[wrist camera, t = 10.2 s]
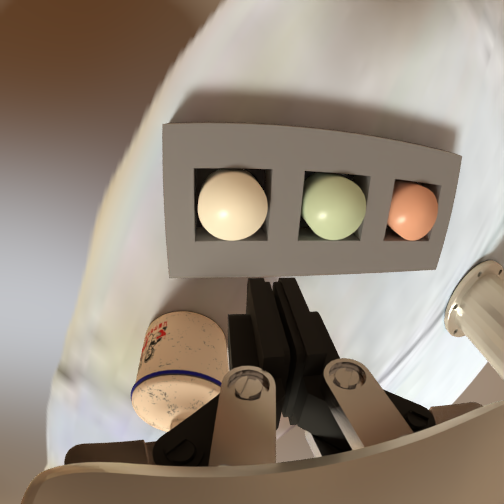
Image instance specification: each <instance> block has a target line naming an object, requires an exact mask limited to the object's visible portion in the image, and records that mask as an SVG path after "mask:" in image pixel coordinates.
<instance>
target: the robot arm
mask: <svg viewBox="0 0 504 504" xmlns="http://www.w3.org/2000/svg"><path fill="white" fill-rule="evenodd" d="M444 324H445V327H446V329H447V331H448V332H449V333H450V334H451V335H452V336H455V337H462V336H465V335H466V336H467V337H468V339H469V340H470V341H471V342H472V343H473V344H474V345H475V347H476V348H477V349H478V350H479V351H480V352H481V354H482V355H483V356H484V357H485V358H486V360H487V361H488V362H489V363H490V364H491V365H492V367H493V368H494V369H495V370H496V372H497V373H498V374H499V375H500V377H501V378H502V379H503V380H504V269H503V267H502V266H501V265H500V264H499V263H497V262H496V261H493V260H489V261H485V262H482V263H481V264H479V265H477V266H476V267H474V268H473V269H472V270H471V271H470V272H469V273H468V274H467V275H466V276H465V277H464V278H463V279H462V281H461V282H460V283H459V285H458V286H457V288H456V289H455V291H454V293H453V294H452V296H451V298H450V300H449V303H448V305H447V308H446V312H445V318H444ZM228 352H229V367H230V371H229V372H228V373H227V374H226V375H225V376H224V377H223V380H222V383H221V389H220V393H219V394H218V395H217V396H216V397H214V398H213V399H212V400H210V401H209V402H208V403H206V404H205V405H204V406H202V407H201V408H200V409H198V410H197V411H196V412H194V413H193V414H192V415H190V416H189V417H188V418H186V419H185V420H184V421H182V422H181V423H179V424H178V425H177V426H175V427H174V428H172V429H171V430H170V431H168V432H167V433H165V434H164V435H163V436H161V437H160V438H159V439H158V440H157V441H155V442H146V443H145V441H144V440H136V441H125V442H111V443H89V444H79V445H75V446H74V447H72V448H71V449H70V450H69V451H68V452H67V454H66V456H65V461H64V465H62V466H57V467H54V468H51V469H48V470H45V471H43V472H41V473H40V474H39V475H37V476H36V477H35V478H34V479H33V480H32V481H31V483H30V484H29V486H28V488H27V489H26V492H25V494H24V496H23V499H22V501H21V504H504V400H503V401H498V402H494V403H491V404H488V405H485V406H482V405H480V404H479V403H476V402H469V403H461V404H454V405H445V406H435V407H431V408H430V409H429V410H428V409H427V408H425V407H423V406H421V405H419V404H416V403H414V402H411V401H409V400H407V399H404V398H402V397H400V396H397V395H395V394H393V393H390V392H388V391H386V390H383V389H382V388H381V386H380V385H379V383H378V382H377V381H376V379H375V378H374V377H373V375H372V374H371V373H370V371H369V370H368V369H367V368H366V367H365V366H364V365H363V364H362V363H360V362H358V361H356V360H353V359H347V358H341V359H340V357H339V355H338V353H337V351H336V349H335V346H334V344H333V342H332V340H331V338H330V336H329V333H328V331H327V329H326V327H325V325H324V323H323V321H322V318H321V316H320V314H319V313H318V312H310V311H309V309H308V306H307V304H306V302H305V300H304V297H303V295H302V293H301V290H300V288H299V286H298V284H297V281H296V279H295V278H279V280H278V282H274V283H273V289H272V288H271V285H270V282H265V281H264V278H248V284H247V306H246V314H232V315H228ZM281 412H282V414H283V417H289V422H290V425H296V424H297V425H298V426H299V427H301V428H302V429H304V430H305V436H306V439H307V441H308V443H309V445H310V448H311V450H312V452H313V454H314V456H315V458H310V459H304V460H296V461H289V462H281V463H276V430H277V429H278V426H279V421H280V417H281Z"/></svg>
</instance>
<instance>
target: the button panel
mask: <svg viewBox="0 0 504 504" xmlns="http://www.w3.org/2000/svg"><path fill="white" fill-rule="evenodd" d="M162 142H163V191H164V213H165V230H166V245H167V258H168V269H169V278H233V277H277V276H310V275H337V274H361V273H382V272H402V271H420V270H436V267H437V264H438V261H439V258H440V254H441V251H442V247H443V244H444V240H445V236H446V233H447V229H448V225H449V221H450V216H451V212H452V208H453V203H454V198H455V194H456V189H457V183H458V178H459V172H460V166H461V159H462V156H461V155H457V154H454V153H451V152H447V151H444V150H440V149H436V148H432V147H428V146H423V145H419V144H414V143H409V142H404V141H399V140H394V139H389V138H383V137H378V136H372V135H366V134H359V133H352V132H345V131H338V130H330V129H321V128H312V127H301V126H290V125H276V124H259V123H229V122H190V123H167V124H163V133H162ZM196 168H248V169H265V183H264V193H265V195H266V198H267V203H268V210H267V215H266V218H265V220H264V222H263V224H262V227H260V228H259V229H258V230H257V231H256V232H255V233H254V234H252V235H251V236H249V237H247V238H244V239H241V240H235V241H229V240H223V239H219V238H217V237H215V236H213V235H212V234H210V233H209V232H208V231H207V230H206V229H205V228H204V227H196ZM305 171H316V172H330V173H343V174H354V183H355V184H356V185H358V186H359V187H360V189H361V190H362V192H363V194H364V196H365V200H366V212H365V216H364V219H363V221H362V223H361V225H360V226H359V227H358V229H357V230H356V231H355V232H353V233H352V234H351V235H349V236H347V237H345V238H343V239H339V240H328V239H324V238H322V237H320V236H318V235H317V234H316V233H315V232H314V231H313V230H312V229H311V227H299V224H300V215H301V205H302V195H303V185H304V174H305ZM395 179H400V180H408V181H415V182H422V186H423V187H425V188H427V189H429V190H431V191H432V192H433V194H434V195H435V197H436V199H437V203H438V214H437V218H436V221H435V223H434V225H433V227H432V229H431V230H430V231H429V232H428V233H427V234H426V235H425V236H424V237H422V238H420V239H418V240H413V241H411V240H406V239H404V238H403V237H401V236H400V235H399V234H397V233H396V232H395V231H394V230H392V229H386V226H387V221H388V216H389V211H390V206H391V200H392V194H393V188H394V182H395Z"/></svg>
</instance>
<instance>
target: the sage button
mask: <svg viewBox="0 0 504 504" xmlns="http://www.w3.org/2000/svg"><path fill="white" fill-rule="evenodd" d="M365 212H366V200H365V196H364V194H363V192H362V190H361V189H360V187H359V186H358V185H356V184H355V183H354V182H352V181H350V180H348V179H347V178H345V177H343V176H341V175H339V174H337V173H330V172H317V173H314V174H312V175H311V176H309V177H308V178H307V179H306V180H305V181H304V185H303V195H302V205H301V216H302V218H303V219H304V220H305V221H306V223H307V224H308V225H309V226H310V227H311V229H312V230H313V231H314V232H315V233H316V234H317V235H318V236H320V237H322V238H324V239H328V240H339V239H343V238H345V237H347V236H349V235H351V234H352V233H353V232H355V231H356V230H357V229H358V227H359V226H360V225H361V223H362V221H363V219H364V216H365Z"/></svg>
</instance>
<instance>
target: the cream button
mask: <svg viewBox="0 0 504 504" xmlns="http://www.w3.org/2000/svg"><path fill="white" fill-rule="evenodd" d="M267 210H268V203H267V198H266V195H265V193H264V191H263V189H262V188H261V186H260V185H259V183H258V182H257V180H256V179H255V177H254V176H253V175H252V174H251V173H249V172H248V171H246V170H244V169H241V168H221V169H218V170H216V171H214V172H213V173H211V174H210V175H209V176H208V177H207V178H206V179H205V181H204V182H203V184H202V186H201V189H200V194H199V200H198V215H199V219H200V221H201V223H202V225H203V226H204V228H205V229H206V230H207V231H208V232H209V233H210V234H212V235H213V236H215V237H217V238H219V239H223V240H229V241H235V240H241V239H244V238H247V237H249V236H251V235H252V234H254V233H255V232H256V231H257V230H258V229H259V228H260V227H261V226H262V224H263V222H264V220H265V218H266V215H267Z"/></svg>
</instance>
